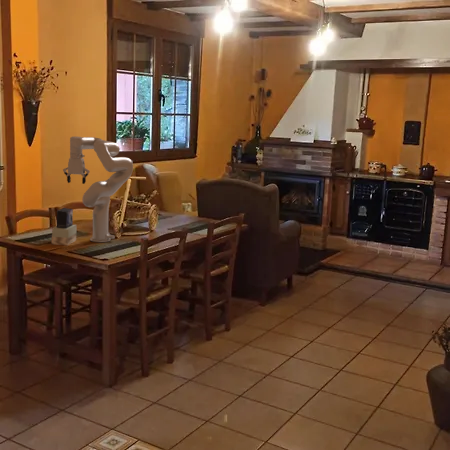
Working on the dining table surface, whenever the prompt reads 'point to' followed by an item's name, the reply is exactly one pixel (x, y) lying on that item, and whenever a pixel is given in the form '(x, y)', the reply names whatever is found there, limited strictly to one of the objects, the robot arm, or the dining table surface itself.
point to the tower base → (63, 240)
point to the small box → (64, 218)
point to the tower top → (64, 231)
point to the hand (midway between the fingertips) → (76, 183)
